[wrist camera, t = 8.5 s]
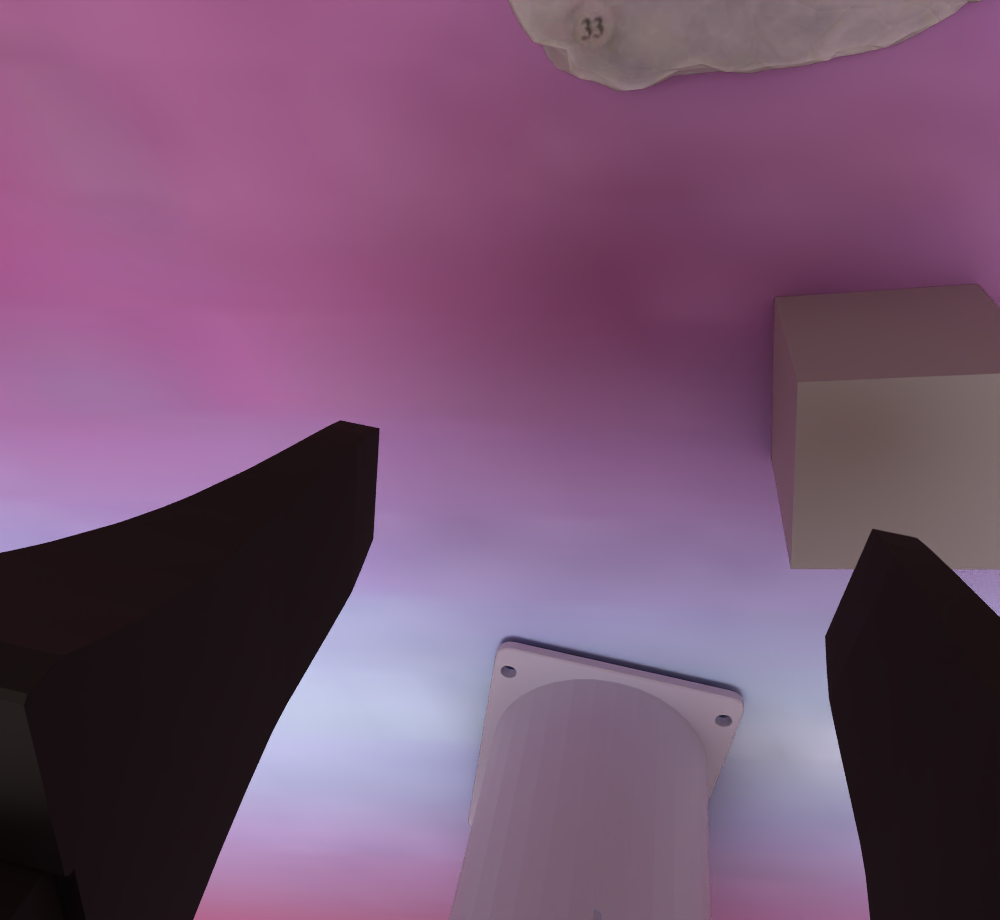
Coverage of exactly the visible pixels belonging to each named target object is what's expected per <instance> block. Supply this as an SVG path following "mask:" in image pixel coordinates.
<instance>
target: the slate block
mask: <svg viewBox="0 0 1000 920" xmlns="http://www.w3.org/2000/svg"><path fill="white" fill-rule="evenodd" d="M771 459H772V465H773V471H774V476H775V482H776V488H777V493H778V499H779V505H780V510H781V516H782V522H783V527H784V533H785V539H786V544H787V550H788V556H789V561H790V567H791V569H855V567H856V565H857V562H858V560H859V558H860V556H861V553H862V551H863V549H864V546H865V544H866V542H867V539H868V537H869V535H870V533H871V530H872V529H877V530H882V531H887V532H892V533H896V534H901V535H906V536H911V537H916V538H918V539H919V540H920V541H921V542H923V543H924V544H925V545H926V546H927V547H928V548H930V549H931V550H932V551H933V552H934V553H935V554H936V555H937V556H938V557H939V558H940V559H941V560H942V561H943V562H944V563H945V564H946V565H948V566H949V567H950V568H951V569H1000V308H999V307H998V306H997V304H996V303H995V302H994V301H993V300H992V299H991V298H990V297H989V296H988V295H987V293H986V292H985V291H984V290H983V289H982V288H981V287H980V286H979V285H978V284H967V285H952V286H937V287H922V288H907V289H891V290H876V291H861V292H846V293H831V294H815V295H800V296H785V297H775V305H774V351H773V397H772V443H771Z"/></svg>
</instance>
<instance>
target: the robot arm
mask: <svg viewBox="0 0 1000 920" xmlns="http://www.w3.org/2000/svg"><path fill="white" fill-rule="evenodd" d="M378 446H379V428H375V427H370V426H365V425H360V424H355V423H351V422H346V421H341V420H340V421H338V422H336V423H334V424H332V425H330V426H328V427H326V428H324V429H322V430H320V431H318V432H316V433H315V434H313V435H311V436H309V437H307V438H305V439H304V440H302V441H300V442H298V443H296V444H294V445H293V446H291V447H289V448H287V449H285V450H283V451H282V452H280V453H278V454H276V455H274V456H272V457H270V458H268V459H266V460H265V461H263V462H261V463H259V464H257V465H255V466H253V467H251V468H249V469H247V470H245V471H243V472H241V473H239V474H237V475H235V476H233V477H230V478H228V479H226V480H224V481H222V482H220V483H218V484H215V485H213V486H211V487H209V488H207V489H205V490H203V491H200V492H198V493H196V494H194V495H192V496H189V497H187V498H185V499H182V500H180V501H177V502H175V503H172V504H170V505H167V506H165V507H162V508H159V509H157V510H154V511H151V512H148V513H145V514H142V515H140V516H137V517H134V518H131V519H128V520H125V521H122V522H119V523H116V524H113V525H109V526H106V527H102V528H98V529H95V530H91V531H88V532H84V533H80V534H77V535H73V536H70V537H66V538H63V539H59V540H55V541H52V542H48V543H44V544H39V545H35V546H30V547H26V548H21V549H16V550H12V551H7V552H2V553H0V920H193V919H194V916H195V914H196V911H197V909H198V906H199V904H200V901H201V899H202V896H203V894H204V891H205V889H206V886H207V884H208V881H209V879H210V876H211V874H212V871H213V869H214V866H215V864H216V861H217V859H218V856H219V854H220V851H221V849H222V846H223V844H224V842H225V839H226V837H227V835H228V832H229V830H230V828H231V825H232V823H233V820H234V818H235V816H236V813H237V811H238V809H239V806H240V804H241V801H242V799H243V797H244V794H245V792H246V790H247V787H248V785H249V783H250V781H251V778H252V776H253V774H254V772H255V769H256V767H257V765H258V763H259V760H260V758H261V756H262V754H263V751H264V749H265V747H266V745H267V742H268V740H269V738H270V736H271V734H272V731H273V729H274V728H275V726H276V724H277V722H278V720H279V718H280V716H281V714H282V712H283V710H284V708H285V706H286V705H287V703H288V701H289V700H290V698H291V696H292V694H293V693H294V691H295V689H296V688H297V686H298V684H299V682H300V681H301V679H302V677H303V676H304V674H305V672H306V670H307V669H308V667H309V665H310V664H311V662H312V660H313V658H314V657H315V655H316V653H317V652H318V650H319V648H320V646H321V645H322V643H323V641H324V640H325V638H326V636H327V634H328V633H329V631H330V629H331V628H332V626H333V624H334V622H335V621H336V619H337V617H338V615H339V614H340V612H341V610H342V608H343V607H344V605H345V603H346V601H347V599H348V598H349V596H350V594H351V592H352V590H353V588H354V585H355V583H356V580H357V578H358V576H359V573H360V571H361V569H362V566H363V563H364V561H365V558H366V556H367V553H368V551H369V548H370V546H371V543H372V541H373V533H374V516H375V498H376V481H377V463H378ZM825 642H826V663H827V678H828V691H829V701H830V706H831V711H832V716H833V720H834V725H835V730H836V735H837V739H838V744H839V749H840V754H841V758H842V763H843V767H844V772H845V776H846V781H847V785H848V790H849V794H850V799H851V803H852V808H853V812H854V817H855V821H856V826H857V831H858V835H859V840H860V845H861V851H862V856H863V862H864V868H865V874H866V883H867V892H868V902H869V911H870V920H1000V617H999V616H998V615H997V614H996V613H995V612H994V611H993V610H992V609H991V608H990V607H989V606H988V605H987V604H986V603H985V602H984V601H983V600H982V599H981V598H980V597H979V596H978V595H977V594H976V593H975V592H974V591H973V590H972V589H971V588H970V587H969V586H968V585H967V584H966V583H965V582H964V581H963V580H962V579H961V578H960V577H959V576H958V575H957V574H956V573H955V572H954V571H953V570H952V569H951V568H950V567H949V566H948V565H946V564H945V563H944V562H943V561H942V560H941V559H940V558H939V557H938V556H937V555H936V554H935V553H934V552H933V551H932V550H931V549H930V548H928V547H927V546H926V545H925V544H924V543H923V542H921V541H920V540H919V539H918V538H916V537H911V536H906V535H901V534H896V533H892V532H887V531H882V530H877V529H872V530H871V533H870V535H869V537H868V539H867V542H866V544H865V546H864V549H863V551H862V553H861V556H860V558H859V560H858V562H857V565H856V567H855V569H854V572H853V574H852V576H851V578H850V581H849V583H848V585H847V588H846V590H845V592H844V595H843V597H842V599H841V601H840V604H839V606H838V608H837V611H836V613H835V615H834V617H833V620H832V622H831V624H830V627H829V629H828V631H827V634H826V636H825ZM505 666H511V667H513V668H514V669H508V668H506V667H505ZM743 712H744V702H743V699H742V697H741V696H740V695H739V694H738V693H736V692H733V691H731V690H726V689H722V688H717V687H713V686H708V685H704V684H699V683H695V682H690V681H686V680H681V679H677V678H673V677H668V676H664V675H659V674H655V673H650V672H646V671H641V670H637V669H632V668H628V667H623V666H619V665H615V664H610V663H606V662H601V661H597V660H592V659H588V658H583V657H579V656H574V655H570V654H565V653H561V652H557V651H552V650H548V649H543V648H539V647H534V646H530V645H525V644H521V643H516V642H505V643H502V644H501V645H500V646H499V647H498V649H497V653H496V657H495V663H494V669H493V675H492V681H491V687H490V693H489V699H488V705H487V711H486V717H485V723H484V729H483V735H482V741H481V747H480V753H479V759H478V765H477V771H476V777H475V783H474V789H473V795H472V801H471V807H470V813H469V820H468V822H469V825H470V826H471V831H470V835H469V839H468V844H467V848H466V852H465V856H464V860H463V864H462V868H461V872H460V876H459V880H458V884H457V889H456V893H455V897H454V901H453V905H452V909H451V913H450V917H449V920H711V900H710V866H709V831H708V801H709V799H710V796H711V794H712V791H713V789H714V786H715V784H716V781H717V779H718V776H719V773H720V771H721V768H722V766H723V763H724V761H725V758H726V756H727V753H728V751H729V748H730V745H731V743H732V740H733V738H734V735H735V733H736V730H737V728H738V725H739V723H740V720H741V718H742V715H743ZM719 715H727V716H728V717H719Z"/></svg>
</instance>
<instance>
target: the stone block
mask: <svg viewBox="0 0 1000 920" xmlns="http://www.w3.org/2000/svg"><path fill="white" fill-rule="evenodd" d="M979 1H981V0H508V2H509V4H510V7H511V9H512V11H513V13H514V14H515V16H516V18H517V20H518V21H519V23H520V25H521V27H522V29H523V30H524V31H525V32H526V34H527V35H528V36H529V37H530V38H531V40H532V41H533V42H535V43H539V44H542V46H543V48H544V50H545V53H546V55H547V57H548V59H549V60H550V61H551V62H552V64H553V65H554V66H555V67H556V68H558V69H560V70H562V71H565V72H567V73H569V74H571V75H574V76H576V77H578V78H579V79H585V80H590V81H592V82H595V83H598V84H601V85H605V86H607V87H609V88H611V89H613V90H615V91H626V90H637V89H645V88H648V87H651V86H653V85H656V84H658V83H660V82H662V81H664V80H666V79H668V78H669V77H672V76H678V75H687V74H697V73H707V72H718V71H720V72H735V73H755V72H759V71H763V70H770V69H779V68H788V67H798V66H804V65H808V64H813V63H817V62H823V61H829V60H830V59H832V58H833V57H840V56H847V55H855V54H859V53H863V52H867V51H872V50H876V49H881V48H885V47H888V46H891V45H895V44H898V43H901V42H903V41H905V40H907V39H909V38H911V37H913V36H915V35H917V34H919V33H921V32H923V31H924V30H926V29H928V28H929V27H931V26H933V25H935V24H936V23H938V22H940V21H942V20H943V19H945V18H947V17H949V16H950V15H952V14H954V13H955V12H957V11H958V10H959V9H960V8H961V7H962V6H963V5H964V4H965V3H970V2H979Z"/></svg>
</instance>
